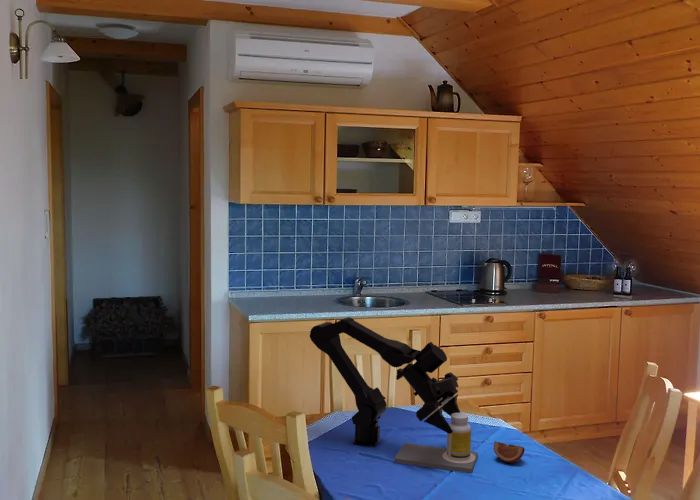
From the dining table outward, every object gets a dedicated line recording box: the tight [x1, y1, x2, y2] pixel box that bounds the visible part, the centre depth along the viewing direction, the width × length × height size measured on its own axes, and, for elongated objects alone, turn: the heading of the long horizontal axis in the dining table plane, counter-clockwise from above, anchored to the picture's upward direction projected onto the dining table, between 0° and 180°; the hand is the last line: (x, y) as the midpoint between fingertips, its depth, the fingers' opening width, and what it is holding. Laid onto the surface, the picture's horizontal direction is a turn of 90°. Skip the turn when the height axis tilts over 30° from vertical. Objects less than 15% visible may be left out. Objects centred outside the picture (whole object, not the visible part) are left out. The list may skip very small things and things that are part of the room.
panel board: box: [393, 442, 479, 474], centre depth 199 cm, size 21×12×1 cm, turn 72°
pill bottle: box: [446, 412, 472, 460], centre depth 198 cm, size 6×6×12 cm
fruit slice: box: [493, 440, 525, 464], centre depth 199 cm, size 8×7×5 cm
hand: (457, 427), depth 198 cm, fingers open, 9 cm apart
